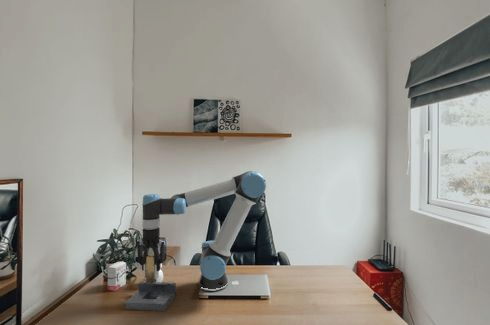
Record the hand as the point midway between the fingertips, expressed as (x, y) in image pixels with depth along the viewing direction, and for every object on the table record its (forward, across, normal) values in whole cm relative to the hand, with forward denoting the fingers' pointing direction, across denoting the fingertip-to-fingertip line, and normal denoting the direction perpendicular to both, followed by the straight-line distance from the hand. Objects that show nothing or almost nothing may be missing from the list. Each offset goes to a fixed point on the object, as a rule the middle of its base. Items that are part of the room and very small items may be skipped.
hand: (151, 277), depth 125 cm
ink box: (+12, +25, -13) cm, 30 cm away
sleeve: (+2, 0, 0) cm, 2 cm away
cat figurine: (+12, +7, -19) cm, 23 cm away
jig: (+11, 0, 0) cm, 11 cm away
